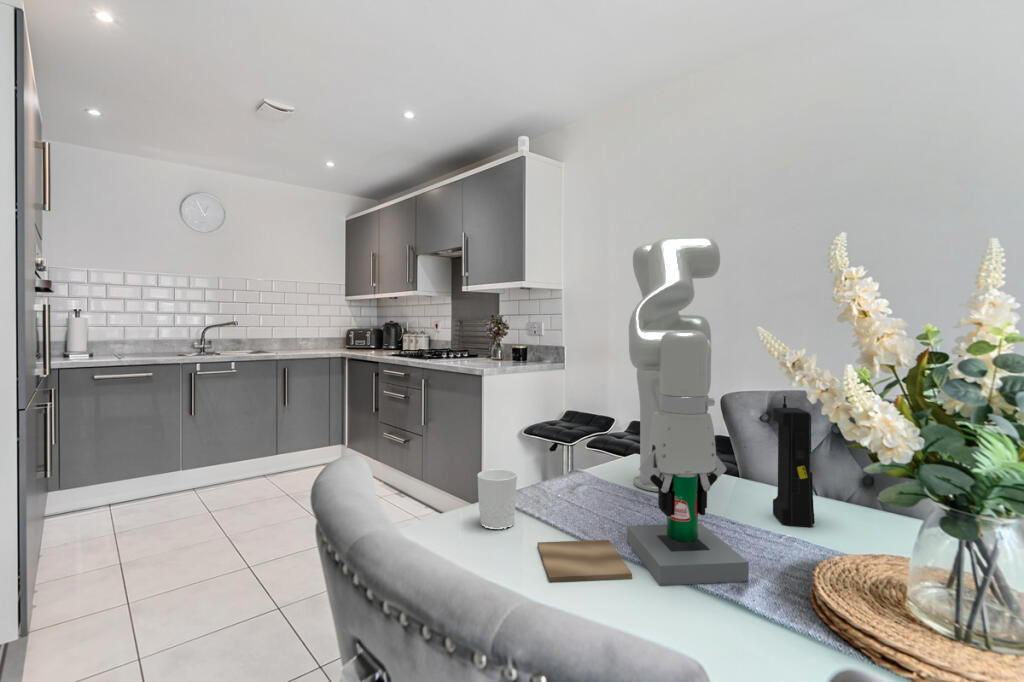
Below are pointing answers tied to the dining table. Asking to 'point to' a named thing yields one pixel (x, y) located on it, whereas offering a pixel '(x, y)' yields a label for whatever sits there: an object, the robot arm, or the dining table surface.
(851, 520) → the dining table surface
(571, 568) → the walnut pad
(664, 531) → the socket block
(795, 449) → the portable radio
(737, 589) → the dining table surface
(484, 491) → the white cup
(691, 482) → the soda can
